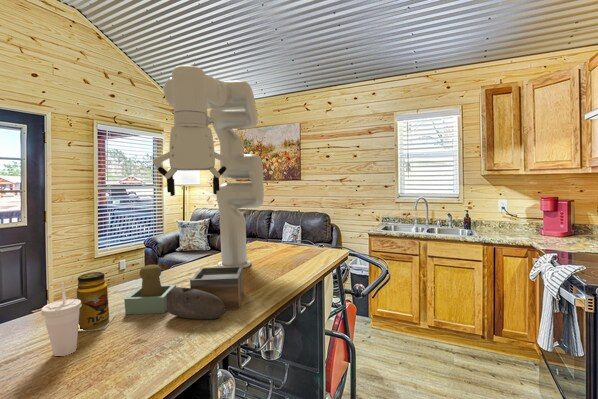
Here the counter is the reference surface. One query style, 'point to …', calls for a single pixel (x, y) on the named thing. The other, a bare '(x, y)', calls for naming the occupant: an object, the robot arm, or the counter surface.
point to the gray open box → (221, 284)
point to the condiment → (93, 302)
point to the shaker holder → (147, 302)
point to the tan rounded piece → (151, 281)
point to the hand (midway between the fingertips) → (194, 194)
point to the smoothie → (62, 324)
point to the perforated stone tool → (194, 304)
